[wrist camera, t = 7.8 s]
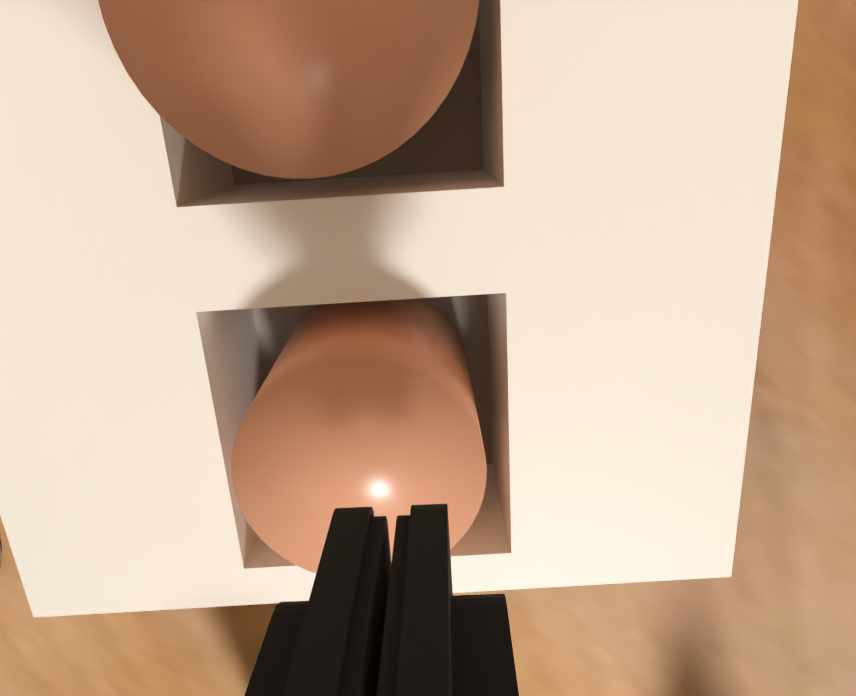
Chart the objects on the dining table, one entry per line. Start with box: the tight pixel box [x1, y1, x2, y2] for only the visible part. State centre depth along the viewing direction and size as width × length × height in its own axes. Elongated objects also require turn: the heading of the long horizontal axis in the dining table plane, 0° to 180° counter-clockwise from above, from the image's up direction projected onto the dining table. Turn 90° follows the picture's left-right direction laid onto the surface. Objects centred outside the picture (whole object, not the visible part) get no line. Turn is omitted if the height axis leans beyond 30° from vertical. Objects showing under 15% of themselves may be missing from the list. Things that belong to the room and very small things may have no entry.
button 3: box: [231, 298, 487, 573], centre depth 15 cm, size 5×5×5 cm
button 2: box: [98, 0, 479, 179], centre depth 11 cm, size 5×5×5 cm
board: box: [0, 0, 798, 617], centre depth 13 cm, size 16×24×5 cm, turn 3°
